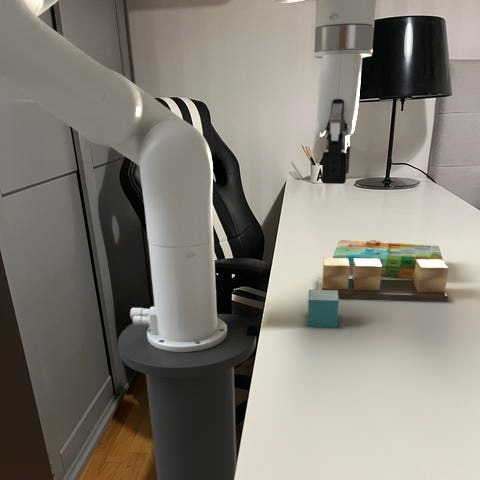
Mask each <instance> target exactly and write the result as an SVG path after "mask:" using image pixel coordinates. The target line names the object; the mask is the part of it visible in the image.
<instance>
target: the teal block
mask: <svg viewBox="0 0 480 480" xmlns="http://www.w3.org/2000/svg"><path fill="white" fill-rule="evenodd" d="M307 301H308V302H307V304H308V305H307V307H308V308H307V327H308V328H332V329H333V328H335V329H336V328H338V322H339V321H338V320H339V303H340V299H338V291H337V290H318V289H308V300H307Z"/></svg>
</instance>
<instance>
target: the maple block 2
mask: <svg viewBox="0 0 480 480" xmlns="http://www.w3.org/2000/svg"><path fill="white" fill-rule="evenodd" d="M381 272H382V265H381V263H380V261H379V259H354V261H353V274H351V275H352V277H351V279H352V284H353V288H354V290H377V291H379V290H380V282H381V279H382V276H381Z"/></svg>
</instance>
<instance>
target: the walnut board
mask: <svg viewBox="0 0 480 480" xmlns="http://www.w3.org/2000/svg"><path fill="white" fill-rule="evenodd" d="M317 290H337V291H338V299H339V300H340V299H342V300H371V301H373V300H374V301H375V300H377V301H405V302H407V301H408V302H410V301H411V302H440V303H441V302H445V303H447V302H449V295H448V293H447V292H446V291H445V292H418V290H417V289H416V287H415V285H414V279H388V278H387V279H385V278H381V282H380V290H379V291H377V290H354V288H353V284H352V278H349V281H348V290H340V289H322V277H317Z"/></svg>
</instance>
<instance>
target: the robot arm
mask: <svg viewBox="0 0 480 480" xmlns="http://www.w3.org/2000/svg"><path fill="white" fill-rule="evenodd" d="M58 1H60V0H0V78H1V79H2V80H4V81H5V82H6V83H8V84H9V85H11V86H12V87H14V88H15V89H17V90H18V91H19V92H21V93H22V94H23V95H25V96H26V97H27V98H29V99H31V100H32V101H33V102H35V103H36V104H37V105H38V106H39V107H42V108H43V109H44V110H46V111H47V112H48V113H50V114H52V115H53V116H55V117H56V118H58V119H59V120H61V121H62V122H63V123H65V124H66V125H68V126H69V127H70V128H72V129H73V130H75V131H76V132H77V133H78V134H80V135H81V136H82V137H84V138H85V139H87V140H88V141H89V142H91V143H93V144H95V145H98V146H102V147H110V148H112V149H113V150H115V151H116V152H118V153H119V154H121V155H122V156H123V157H125V158H127V159H129V160H130V161H132V162H133V163H134V164H136V165H137V166H139V176H140V183H141V191H142V198H143V206H144V216H145V224H146V226H145V227H146V235H147V242H148V252H149V262H150V274H151V283H152V294H153V306H150V308H143V307H132V308H131V309H130V312H129V315H130V319H131V320H132V324H134V325H142V324H145V325H148V326H150V327H149V328H148V330H147V338H148V341H149V342H150V344H151V345H153V346H154V347H156V348H159V349H161V350H165V351H170V352H194V351H200V350H205V349H208V348H211V347H213V346H215V345H218V344H219V343H220V342H222V341H223V340H224V339H225V338H226V336H227V325H226V324H225V322H224V321H222V320H221V319H219V318H217V314H218V312H217V310H218V309H217V289H216V288H217V286H216V285H217V284H216V263H215V261H216V260H215V239H214V238H215V237H214V221H213V219H214V218H213V217H214V216H213V179H214V178H213V159H212V153H211V150H210V146H209V144H208V142H207V140H206V138H205V136H204V135H203V133H202V132H201V131H199V130H198V129H197V128H196V127H194V126H193V125H192V124H191V123H188V122H187V121H186V120H184V119H183V118H182V117H180V116H178V115H177V114H176V113H175V112H174V111H172V110H171V109H169V108H168V107H166V106H165V105H164V104H162V103H161V102H159V101H158V100H157V99H156V98H154V97H153V96H152V95H151V94H149V93H147V92H146V91H145V90H144V89H142V88H141V87H139V86H138V85H137V84H135V83H134V82H132V81H131V80H130V79H129V78H127V77H126V76H124V75H123V74H121V73H119V72H117V71H114V70H113V69H110V68H108V67H107V66H105V65H103V64H101V63H99V62H98V61H97V60H95V59H94V58H93V57H91V56H90V55H88V54H86V53H85V52H84V51H83V50H81V49H80V48H78V47H77V46H76V45H74V44H73V43H72V42H70V41H69V40H68V39H67V38H65V37H64V36H63V35H62V34H60V33H59V32H58V31H56V30H55V29H54V28H52V27H51V26H49V25H48V24H47V23H45V21H43V20H42V19H41V18H40V17H39V16H40V15H42V14H43V13H44V12H46V11H48V10H49V9H50V8H51V7H52V6H53V5H55V4H56V3H57V2H58ZM269 1H270V2H273V3H277V4H290V3H297V2H302V1H304V0H269ZM376 5H377V0H315V25H314V28H315V30H314V50H313V51H314V53H313V55H314V56H313V57H314V59H321V61H320V68H319V69H320V71H319V82H318V97H317V111H316V112H317V116H316V126H315V127H316V128H315V134H316V135H317V137H318V138H319V137H323V136H324V135H325V140H324V150H323V151H324V152H322V167H321V168H322V169H321V183H322V184H325V185H328V184H329V185H344V184H345V183H346V182H347V181H346V180H347V174H349V172H350V159H351V145H350V136H351V135H353V133H354V131H355V126H356V121H357V117H358V109H359V101H360V90H361V78H362V66H363V58H367V57H372V55H373V47H374V46H373V45H374V44H373V43H374V31H375V20H376V19H375V18H376V7H377V6H376Z"/></svg>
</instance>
